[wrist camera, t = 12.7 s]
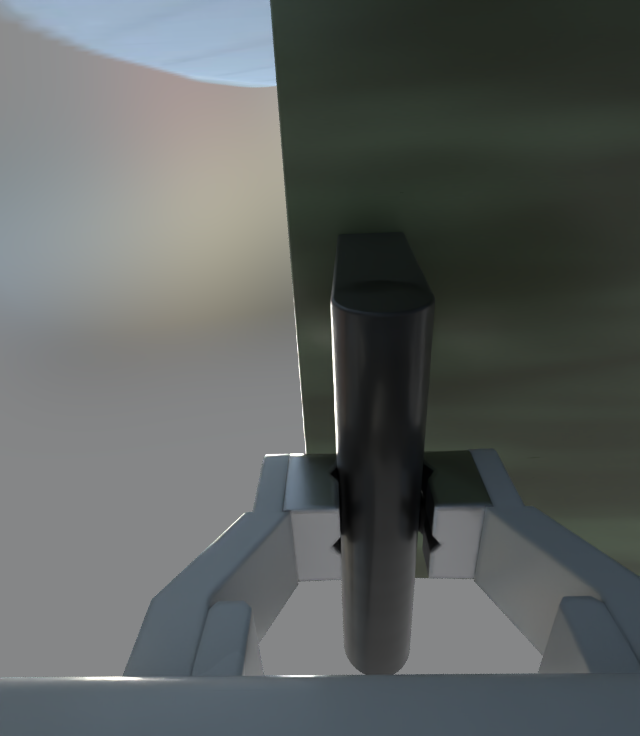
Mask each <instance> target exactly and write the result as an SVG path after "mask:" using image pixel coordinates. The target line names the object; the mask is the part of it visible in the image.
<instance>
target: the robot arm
mask: <svg viewBox="0 0 640 736" xmlns="http://www.w3.org/2000/svg"><path fill="white" fill-rule="evenodd" d="M418 531H419V532H420V533H421V534H422V535H423V545H422V550H423V555H424V559H425V564H426V568H427V572H428V577H429V578H454V579H474V581H475V582H476V584H477V585H478V586H479V587H480V588H481V589H482V590H483V591H484V592H485V593H486V594H487V596H488V597H489V598H490V599H491V600H492V601H493V602H494V603H495V604H496V605H497V606H498V607H499V609H500V610H501V611H502V612H503V613H504V614H505V615H506V616H507V617H508V618H509V620H510V621H511V622H512V623H513V624H514V625H515V626H516V627H517V628H518V629H519V630H520V631H521V633H522V634H523V635H524V636H525V637H526V638H527V639H528V640H529V641H530V642H531V643H532V644H533V646H534V647H535V648H536V649H537V650H538V651H539V652H540V653H541V654H542V655H543V658H542V661H541V665H540V668H539V671H538V674H426V675H425V674H421V675H418V674H416V675H278V676H277V675H274V676H273V675H271V676H270V675H269V676H264V672H263V667H262V661H261V656H260V650H259V645H258V644H259V642H260V641H261V640H262V638H263V637H264V635H265V634H266V632H267V631H268V629H269V628H270V626H271V625H272V623H273V622H274V620H275V619H276V617H277V616H278V614H279V612H280V611H281V609H282V608H283V607H284V605H285V604H286V602H287V601H288V599H289V598H290V596H291V595H292V593H293V591H294V590H295V589H296V587H297V586H298V582H299V581H321V580H342V553H341V526H340V498H339V482H338V472H337V455H336V454H290V455H289V454H267V455H266V456H265V457H264V459H263V463H262V468H261V473H260V478H259V483H258V488H257V493H256V498H255V503H254V508H253V512H246V513H244V514H243V515H242V516H241V517H240V518H239V519H238V520H237V521H235V522H234V524H232V525H231V526H230V527H229V528H228V529H227V530H226V531H225V532H224V533H223V534H222V535H220V536H219V537H218V538H217V539H216V540H215V541H214V542H213V543H212V544H211V545H210V546H209V547H208V548H207V549H205V550H204V551H203V552H202V553H201V554H200V555H199V556H198V557H197V558H196V559H195V560H194V561H193V562H191V563H190V565H188V566H187V567H186V568H185V569H184V570H183V571H182V572H181V573H180V574H179V575H178V576H176V578H174V579H173V580H172V581H171V582H170V583H169V584H168V585H167V586H166V587H165V588H164V589H163V590H162V591H160V592H159V593H158V594H157V595H156V596H155V597H154V598H153V599H152V601H151V603H150V606H149V608H148V611H147V613H146V616H145V618H144V621H143V624H142V626H141V629H140V632H139V634H138V637H137V639H136V642H135V645H134V647H133V650H132V653H131V655H130V658H129V661H128V663H127V666H126V668H125V671H124V674H123V676H122V677H22V678H21V677H20V678H17V677H16V678H15V677H14V678H13V677H11V678H0V736H640V577H639V576H638V575H636V574H635V573H633V572H632V571H630V570H629V569H627V568H626V567H624V566H623V565H621V564H620V563H618V562H617V561H615V560H614V559H612V558H611V557H609V556H607V555H606V554H604V553H603V552H601V551H600V550H598V549H597V548H595V547H594V546H592V545H591V544H589V543H588V542H586V541H585V540H583V539H582V538H580V537H579V536H577V535H576V534H574V533H573V532H571V531H570V530H568V529H567V528H565V527H564V526H562V525H561V524H559V523H558V522H556V521H555V520H553V519H552V518H550V517H549V516H547V515H546V514H544V513H543V512H541V511H540V510H538V509H537V508H535V507H534V506H525V505H524V503H523V501H522V499H521V497H520V495H519V494H518V492H517V490H516V488H515V486H514V484H513V482H512V480H511V478H510V476H509V474H508V472H507V470H506V469H505V467H504V465H503V463H502V461H501V459H500V457H499V455H498V453H497V451H496V450H494V449H493V448H484V449H467V450H454V451H424V461H423V474H422V488H421V501H420V515H419V528H418Z"/></svg>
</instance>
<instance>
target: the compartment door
mask: <svg viewBox="0 0 640 736" xmlns="http://www.w3.org/2000/svg"><path fill="white" fill-rule="evenodd" d="M270 7H271V19H272V32H273V45H274V57H275V70H276V82H277V93H278V94H277V95H278V107H279V120H280V133H281V146H282V158H283V171H284V182H285V196H286V208H287V221H288V234H289V247H290V259H291V272H292V284H293V297H294V309H295V321H296V335H297V347H298V360H299V373H300V386H301V398H302V411H303V421H304V422H303V423H304V436H305V449H306V454H336V455H337V472H338V482H339V498H340V526H341V553H342V580H341V581H342V605H343V629H344V630H343V631H344V648H345V652H346V655H347V657H348V659H349V660H350V662H351V663H352V665H353V666H354V667H355V668H356V669H358V670H359V671H360V672H362V673H363V674H365V675H393V674H395V673H396V672H398V671H399V670H400V669H401V668H402V667H403V666H404V664H405V663H406V661H407V659H408V656H409V650H410V636H411V623H412V610H413V595H414V583H415V578H429V577H428V572H427V568H426V564H425V559H424V555H423V550H422V545H423V535H422V534H421V533H420V532H419V531H418V528H419V515H420V501H421V488H422V474H423V461H424V451H454V450H467V449H484V448H493V449H494V450H496V451H497V453H498V455H499V457H500V459H501V461H502V463H503V465H504V467H505V469H506V470H507V472H508V474H509V476H510V478H511V480H512V482H513V484H514V486H515V488H516V490H517V492H518V494H519V495H520V497H521V499H522V501H523V503H524V505H525V506H534V507H535V508H537V509H538V510H540V511H541V512H543V513H544V514H546V515H547V516H549V517H550V518H552V519H553V520H555V521H556V522H558V523H559V524H561V525H562V526H564V527H565V528H567V529H568V530H570V531H571V532H573V533H574V534H576V535H577V536H579V537H580V538H582V539H583V540H585V541H586V542H588V543H589V544H591V545H592V546H594V547H595V548H597V549H598V550H600V551H601V552H603V553H604V554H606V555H607V556H609V557H611V558H612V559H614V560H615V561H617V562H618V563H620V564H621V565H623V566H624V567H626V568H627V569H629V570H630V571H632V572H633V573H635V574H636V575H638V576H639V577H640V0H270ZM449 579H451V578H449ZM452 579H454V578H452Z"/></svg>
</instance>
